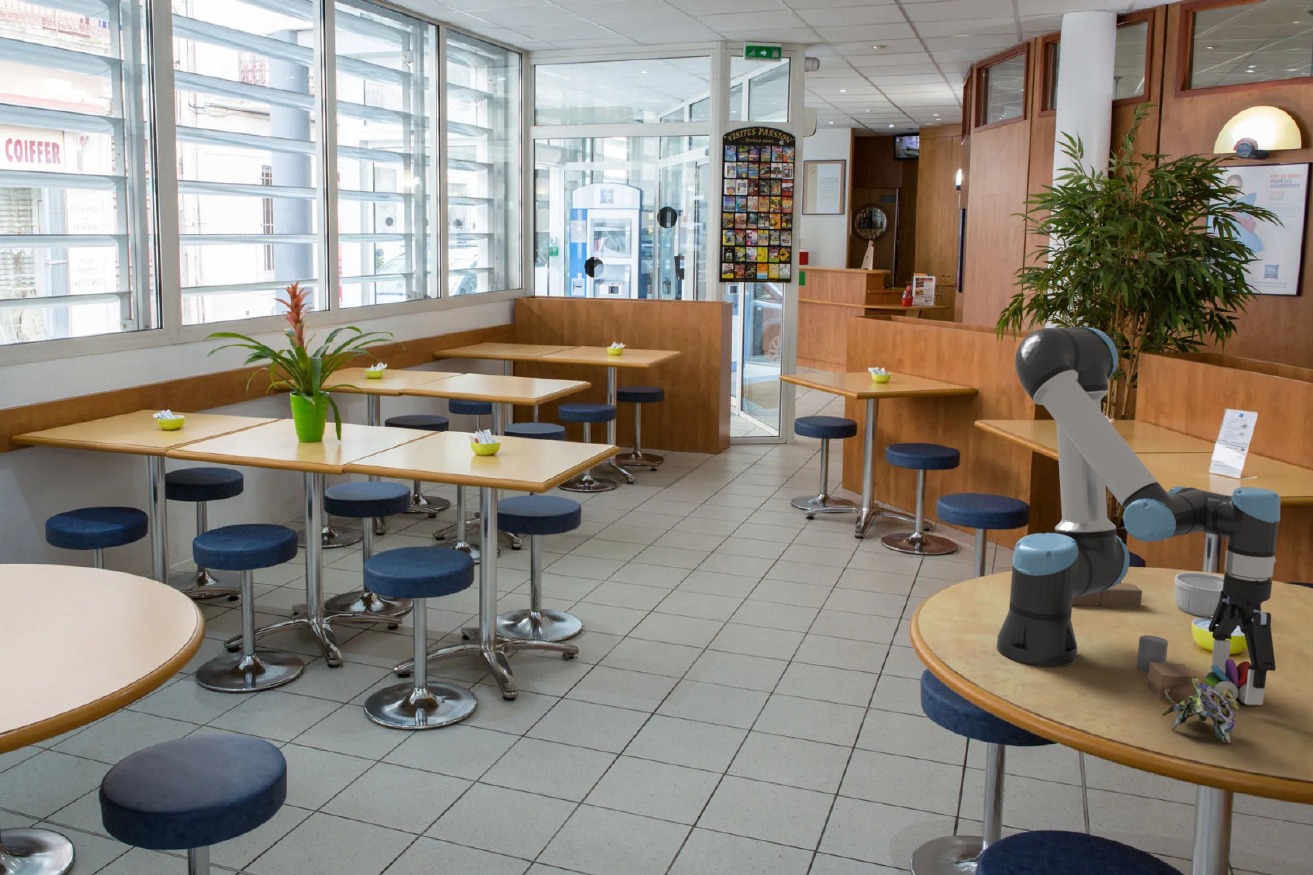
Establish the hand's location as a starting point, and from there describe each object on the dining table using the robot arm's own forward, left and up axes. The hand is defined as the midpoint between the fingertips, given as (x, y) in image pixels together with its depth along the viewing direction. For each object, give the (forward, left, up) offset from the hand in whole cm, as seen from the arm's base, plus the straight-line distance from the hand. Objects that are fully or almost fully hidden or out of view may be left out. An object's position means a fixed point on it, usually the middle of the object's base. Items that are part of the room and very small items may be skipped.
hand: (1235, 688), depth 193 cm
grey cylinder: (-10, +12, -2) cm, 16 cm away
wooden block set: (-7, +58, -3) cm, 58 cm away
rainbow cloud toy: (0, +1, -2) cm, 2 cm away
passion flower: (-13, -16, -2) cm, 21 cm away
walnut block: (-11, 0, -2) cm, 11 cm away
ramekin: (+16, +50, -2) cm, 53 cm away
